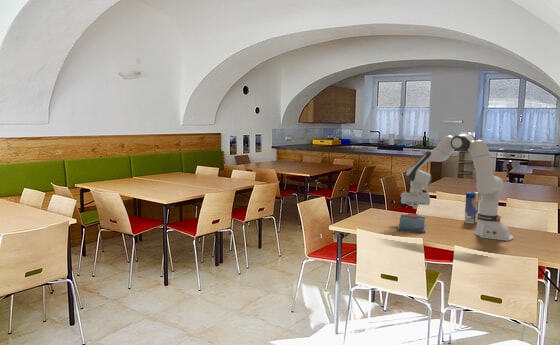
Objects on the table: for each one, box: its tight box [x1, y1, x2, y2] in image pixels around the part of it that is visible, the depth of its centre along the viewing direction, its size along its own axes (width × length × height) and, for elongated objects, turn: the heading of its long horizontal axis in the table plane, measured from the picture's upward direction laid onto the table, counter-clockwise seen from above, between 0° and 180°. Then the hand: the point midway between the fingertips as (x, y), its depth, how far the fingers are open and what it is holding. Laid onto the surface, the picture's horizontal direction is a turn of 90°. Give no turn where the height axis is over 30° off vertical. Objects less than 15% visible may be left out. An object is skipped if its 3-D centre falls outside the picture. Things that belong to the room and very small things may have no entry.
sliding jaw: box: [400, 214, 426, 224], centre depth 300 cm, size 16×2×7 cm, turn 70°
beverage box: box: [463, 191, 480, 224], centre depth 321 cm, size 7×11×22 cm, turn 144°
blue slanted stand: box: [396, 216, 427, 234], centre depth 298 cm, size 18×20×8 cm
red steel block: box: [407, 212, 418, 218], centre depth 296 cm, size 6×4×9 cm
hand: (414, 208), depth 308 cm, fingers closed
